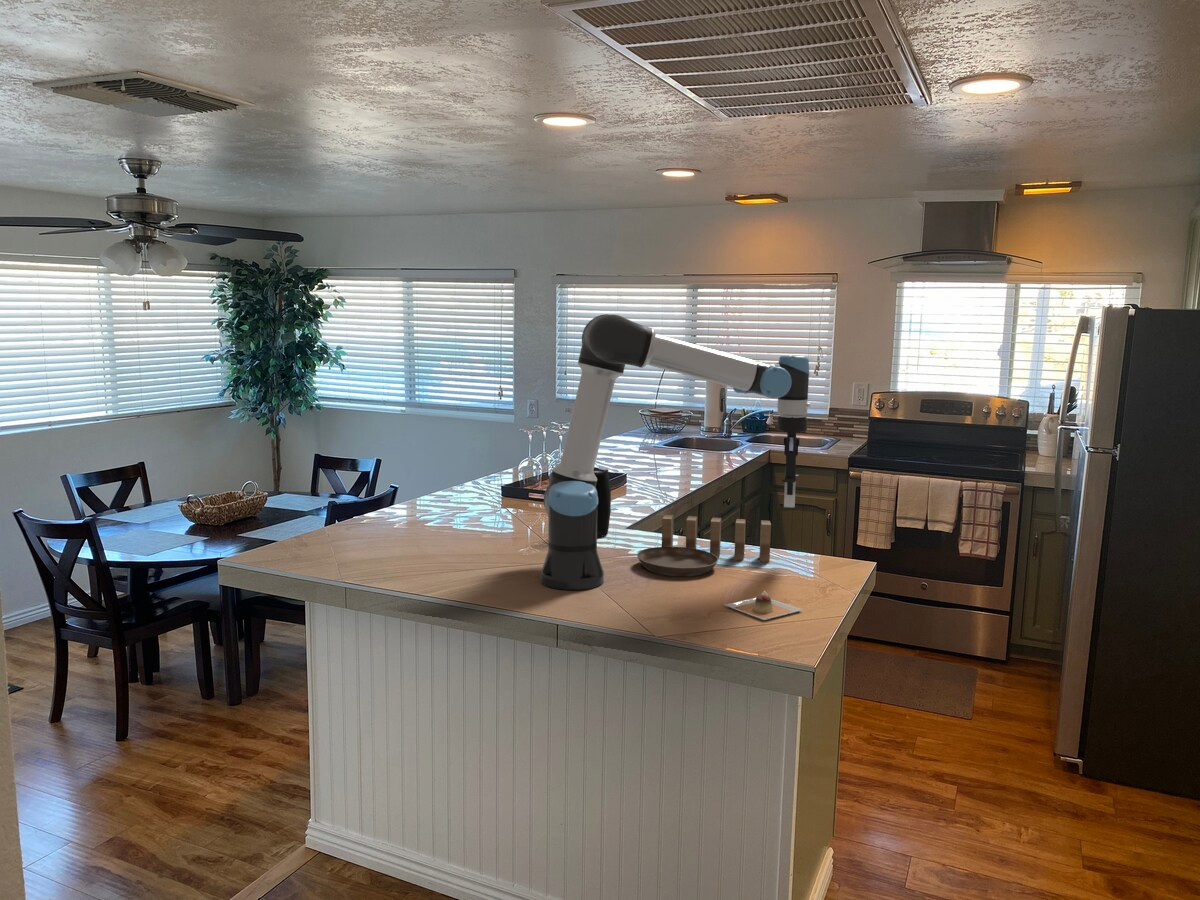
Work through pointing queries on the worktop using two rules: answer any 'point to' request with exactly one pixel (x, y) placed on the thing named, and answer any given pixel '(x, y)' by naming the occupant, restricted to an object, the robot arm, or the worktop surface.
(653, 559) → the plant saucer
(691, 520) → the domino
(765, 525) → the domino
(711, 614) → the worktop surface
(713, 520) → the domino
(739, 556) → the domino
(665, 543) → the domino
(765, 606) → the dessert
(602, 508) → the portable speaker
